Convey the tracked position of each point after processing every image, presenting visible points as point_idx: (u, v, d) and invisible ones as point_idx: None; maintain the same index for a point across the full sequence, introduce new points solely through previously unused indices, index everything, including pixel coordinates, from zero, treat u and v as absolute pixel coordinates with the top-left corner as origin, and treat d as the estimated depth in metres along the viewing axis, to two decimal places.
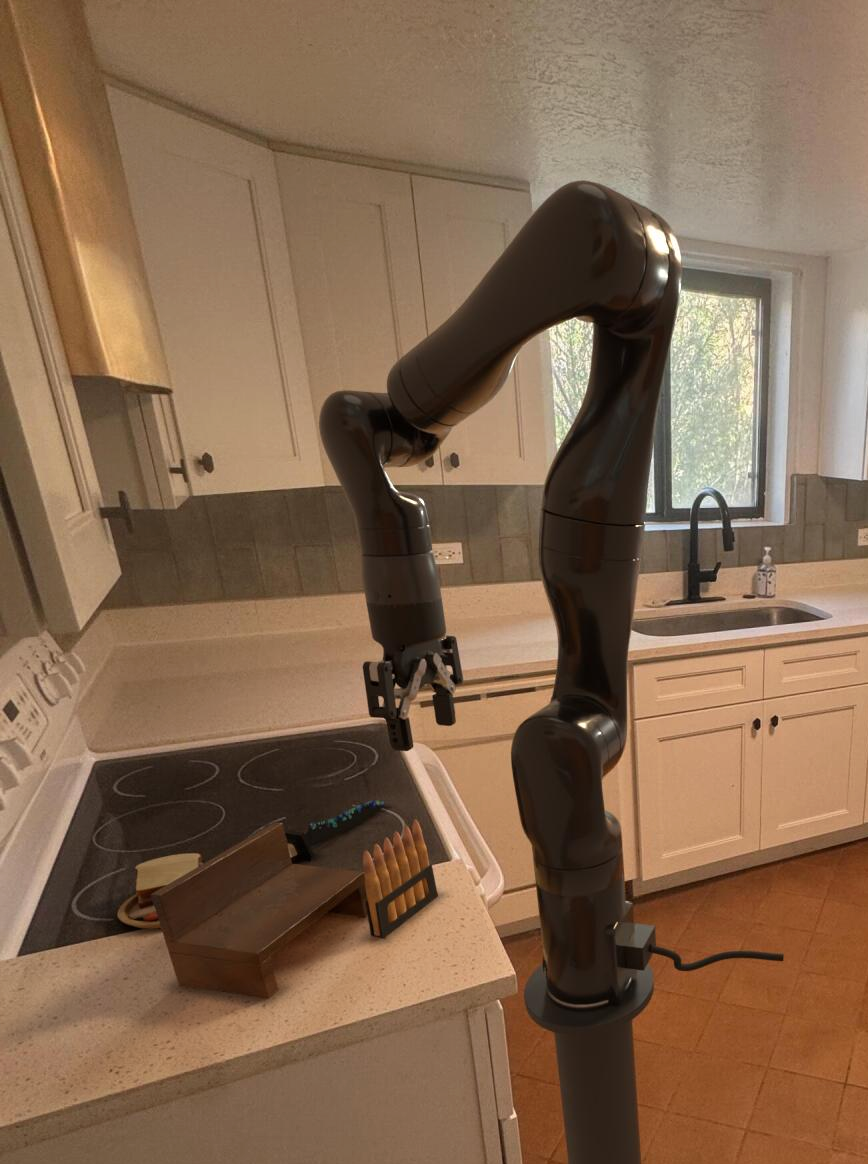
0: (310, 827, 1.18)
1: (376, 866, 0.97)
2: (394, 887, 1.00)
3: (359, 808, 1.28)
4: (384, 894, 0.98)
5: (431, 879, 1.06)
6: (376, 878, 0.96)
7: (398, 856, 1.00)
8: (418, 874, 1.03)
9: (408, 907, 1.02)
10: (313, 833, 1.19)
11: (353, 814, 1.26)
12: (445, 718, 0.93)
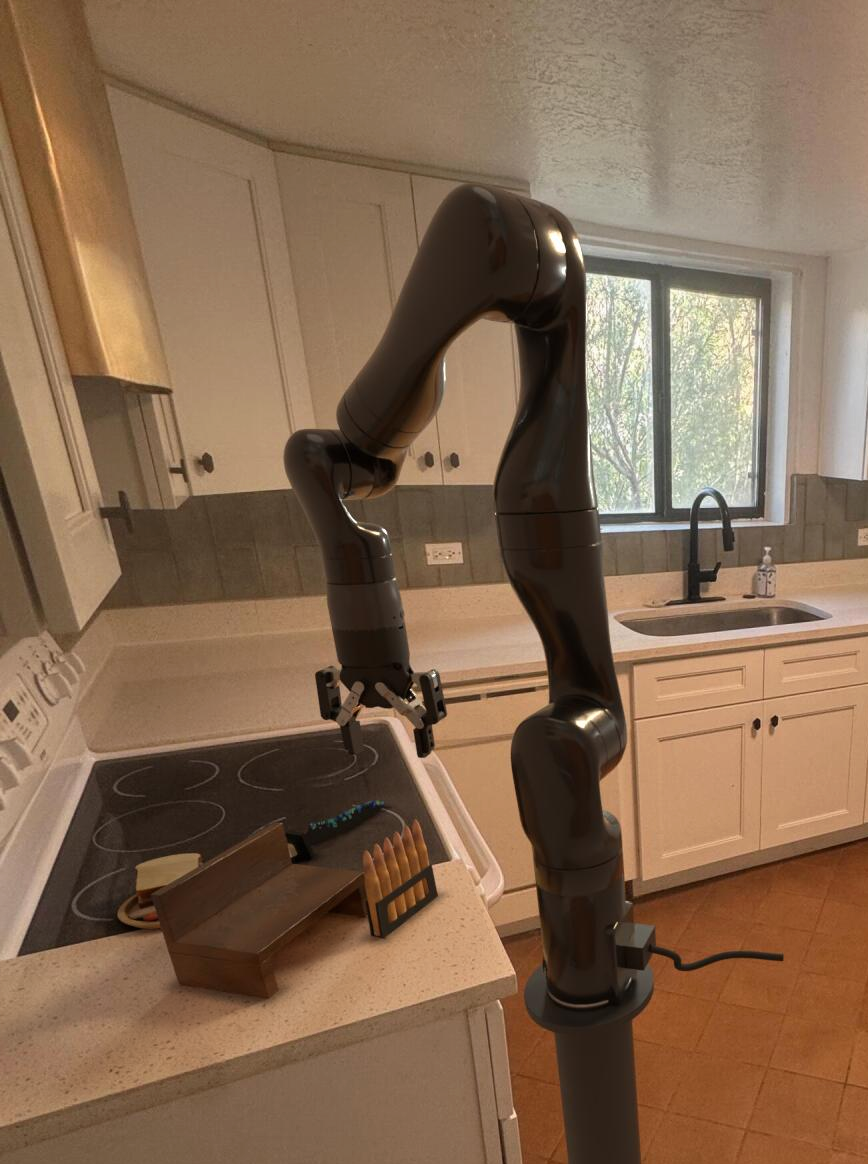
0: (310, 827, 1.18)
1: (376, 866, 0.97)
2: (394, 887, 1.00)
3: (359, 808, 1.28)
4: (384, 894, 0.98)
5: (431, 879, 1.06)
6: (376, 878, 0.96)
7: (398, 856, 1.00)
8: (418, 874, 1.03)
9: (408, 907, 1.02)
10: (313, 833, 1.19)
11: (353, 814, 1.26)
12: None
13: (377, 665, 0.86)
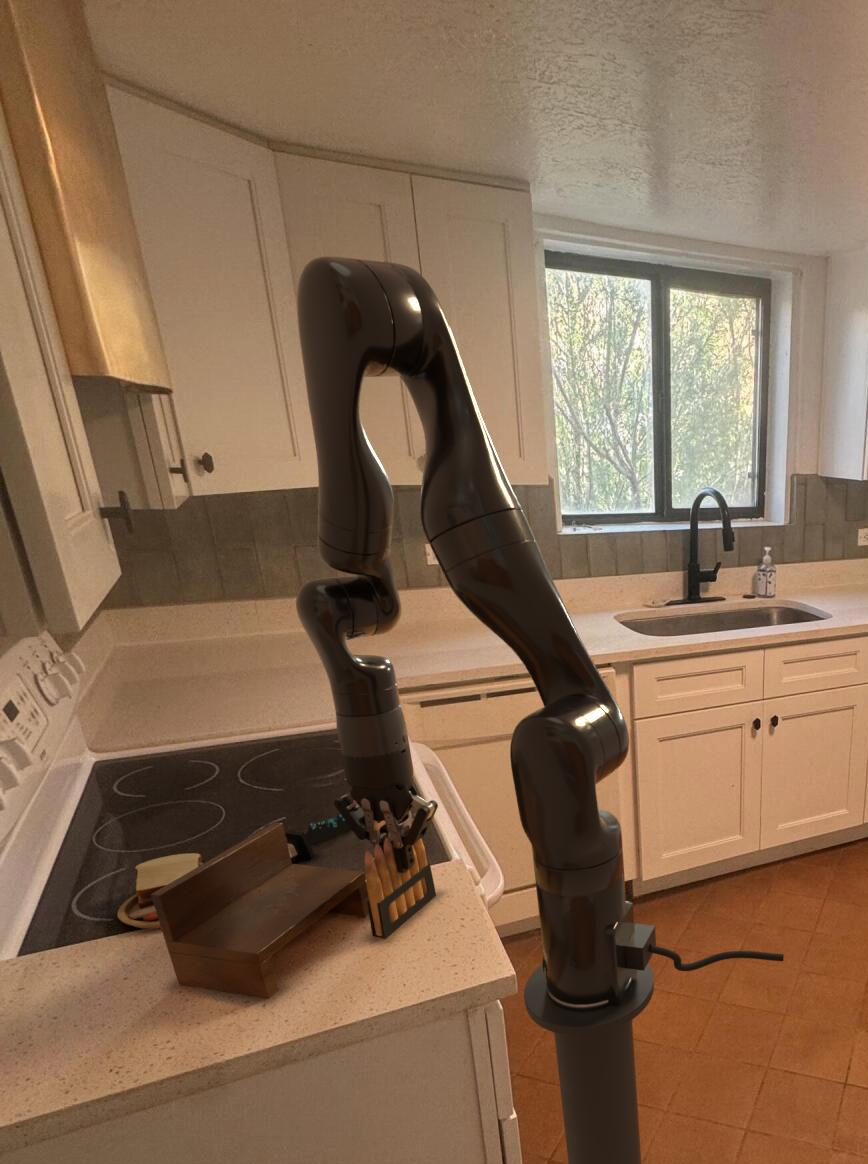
0: (310, 827, 1.18)
1: (377, 866, 0.97)
2: (395, 887, 1.00)
3: None
4: (385, 894, 0.98)
5: (429, 878, 1.06)
6: (378, 878, 0.96)
7: None
8: (417, 874, 1.03)
9: (408, 907, 1.03)
10: (313, 833, 1.19)
11: None
12: None
13: (379, 787, 0.93)
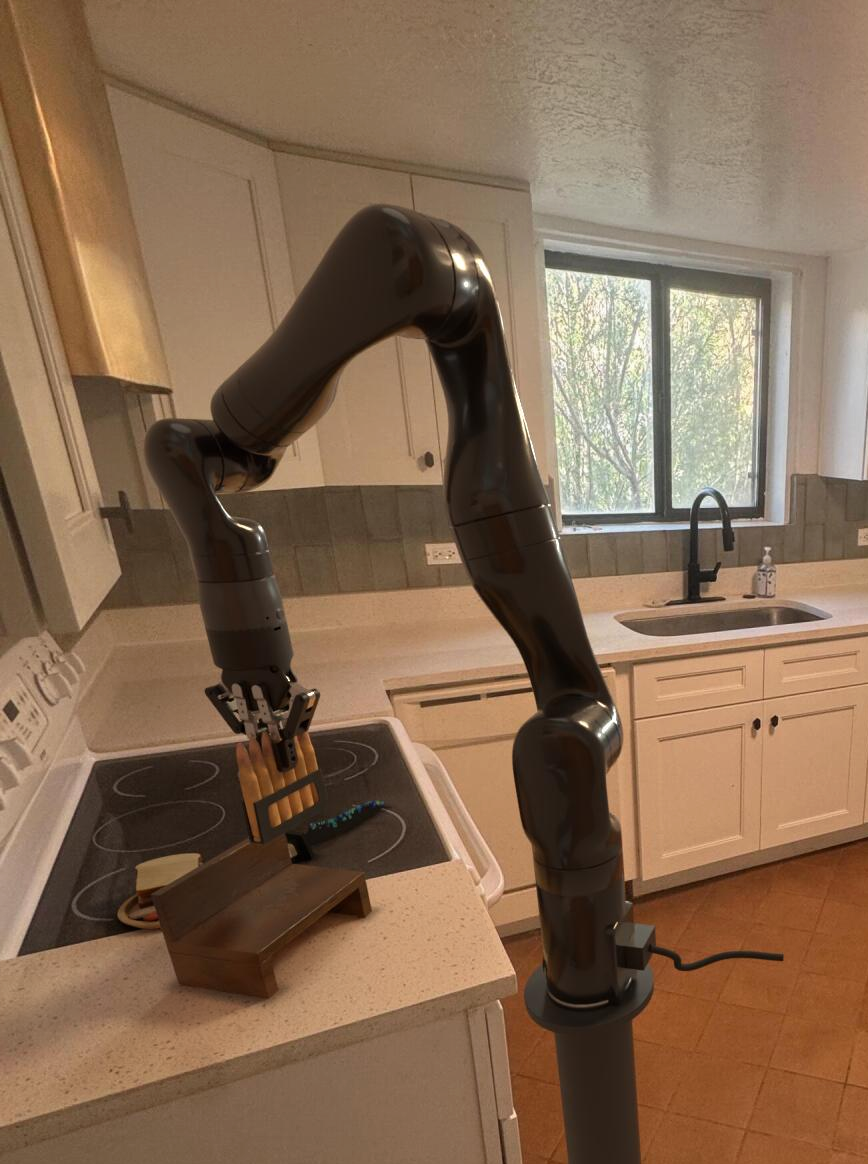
0: (310, 827, 1.18)
1: (253, 762, 0.86)
2: (276, 788, 0.89)
3: (359, 808, 1.28)
4: (264, 794, 0.87)
5: (321, 785, 0.95)
6: (253, 774, 0.86)
7: None
8: (305, 777, 0.93)
9: (294, 813, 0.92)
10: (313, 833, 1.19)
11: (353, 814, 1.26)
12: None
13: (248, 667, 0.82)
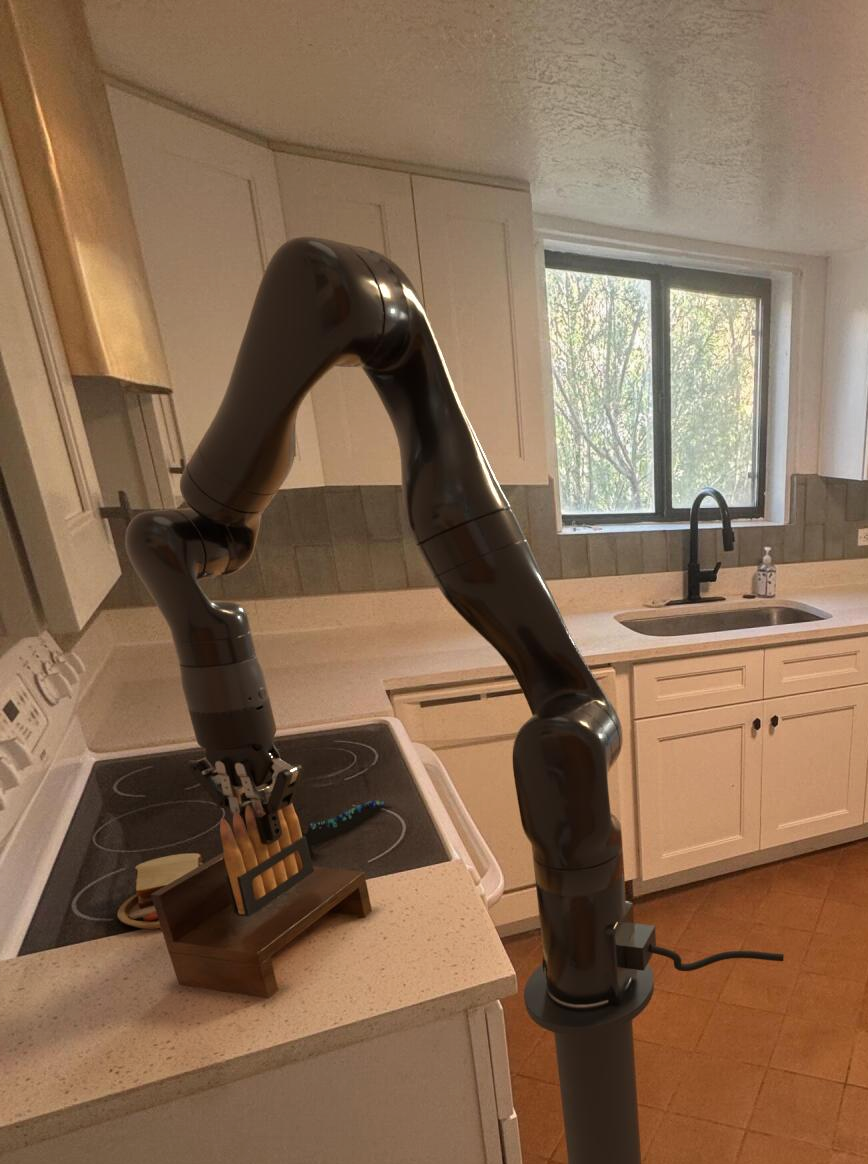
0: (310, 827, 1.18)
1: (237, 837, 0.88)
2: (260, 860, 0.90)
3: (359, 808, 1.28)
4: (248, 868, 0.89)
5: (305, 852, 0.97)
6: (237, 849, 0.87)
7: None
8: (289, 846, 0.94)
9: (278, 883, 0.93)
10: (313, 833, 1.19)
11: (353, 814, 1.26)
12: None
13: (231, 747, 0.83)
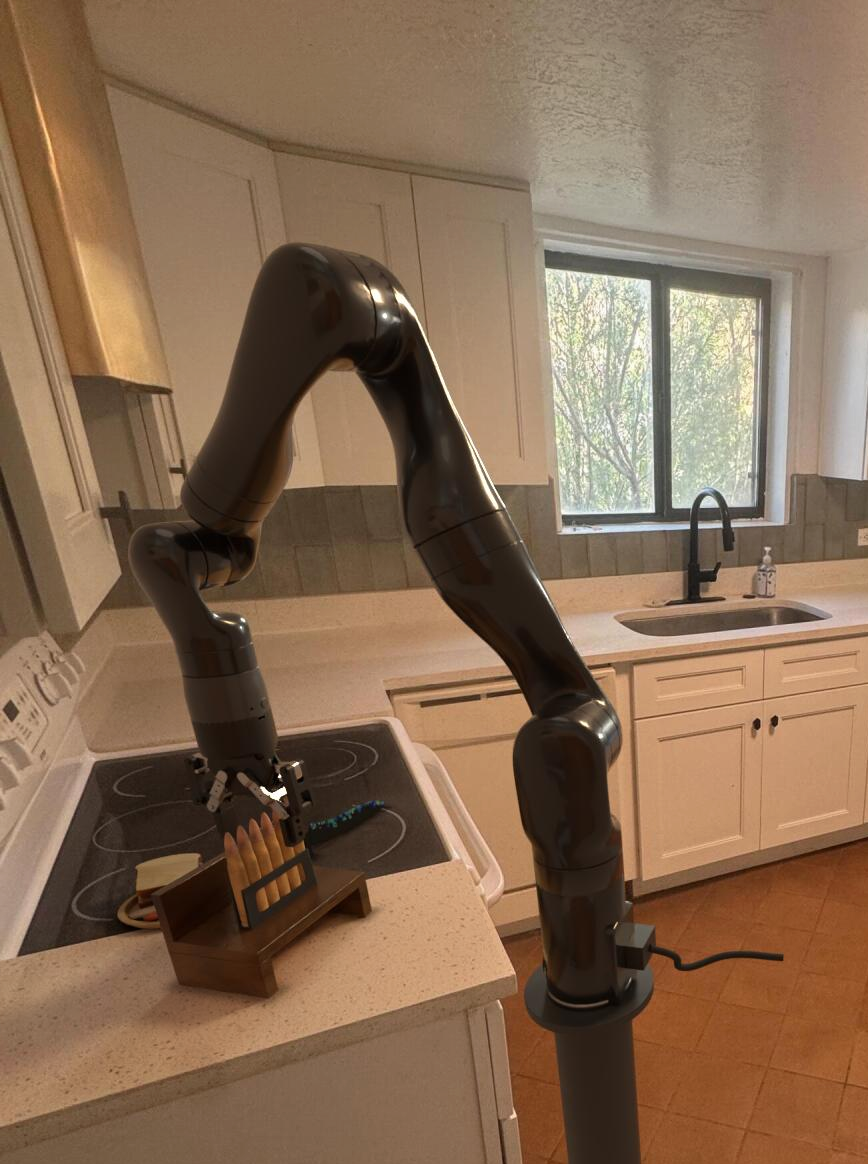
0: (310, 827, 1.18)
1: (241, 850, 0.88)
2: (263, 873, 0.91)
3: (359, 808, 1.28)
4: (252, 881, 0.89)
5: (308, 864, 0.97)
6: (241, 863, 0.87)
7: (267, 839, 0.91)
8: (292, 859, 0.95)
9: (282, 895, 0.94)
10: (313, 833, 1.19)
11: (353, 814, 1.26)
12: None
13: (233, 757, 0.84)
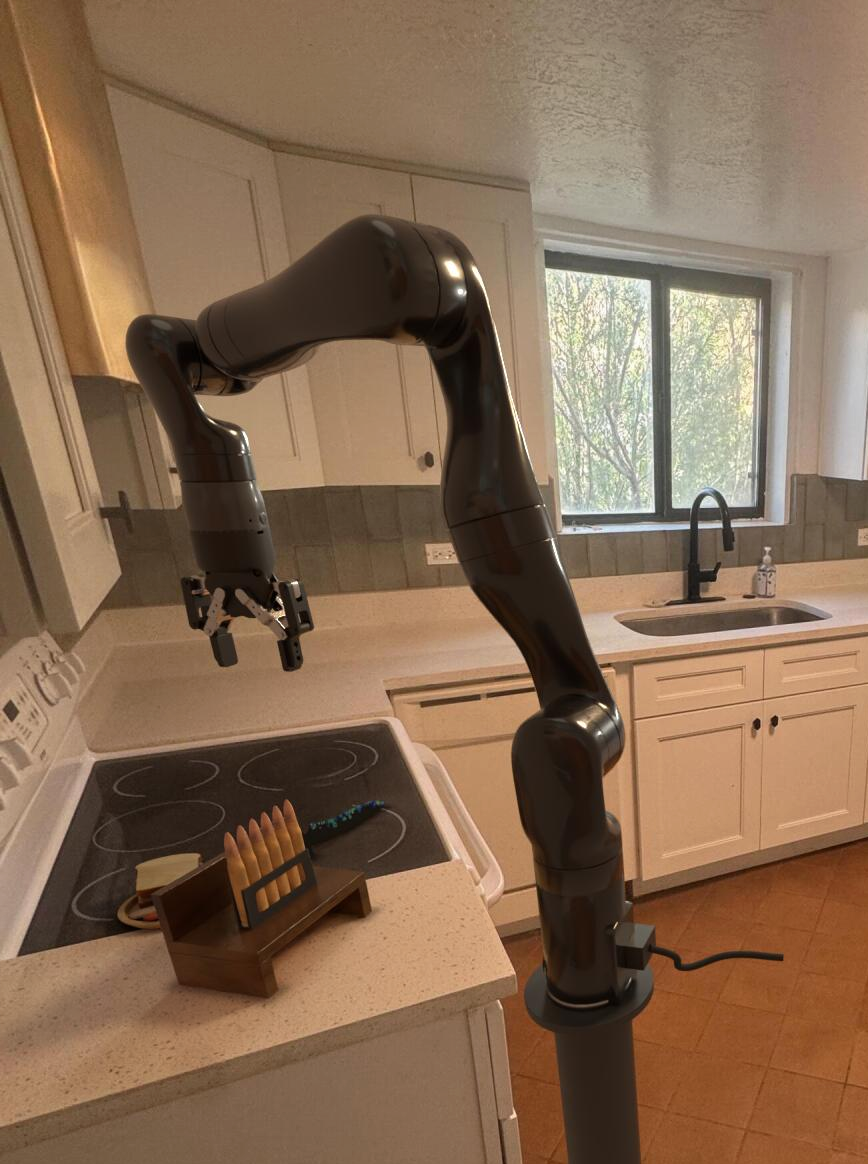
0: (310, 827, 1.18)
1: (241, 850, 0.88)
2: (263, 873, 0.91)
3: (359, 808, 1.28)
4: (252, 881, 0.89)
5: (308, 864, 0.97)
6: (241, 863, 0.87)
7: (267, 839, 0.91)
8: (292, 859, 0.95)
9: (282, 895, 0.94)
10: (313, 833, 1.19)
11: (353, 814, 1.26)
12: None
13: (232, 569, 0.84)
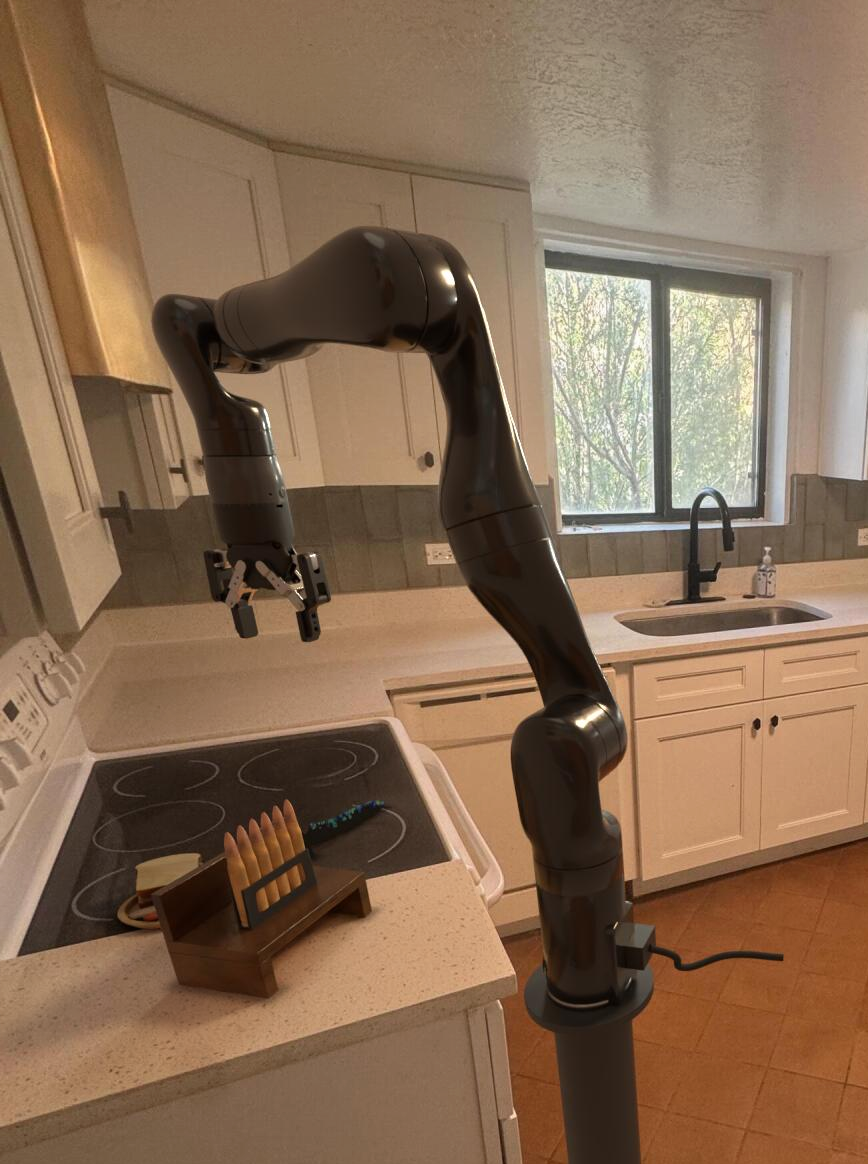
0: (310, 827, 1.18)
1: (241, 850, 0.88)
2: (263, 873, 0.91)
3: (359, 808, 1.28)
4: (252, 881, 0.89)
5: (308, 864, 0.97)
6: (241, 863, 0.87)
7: (267, 839, 0.91)
8: (292, 859, 0.95)
9: (282, 895, 0.94)
10: (313, 833, 1.19)
11: (353, 814, 1.26)
12: None
13: (253, 541, 0.87)
